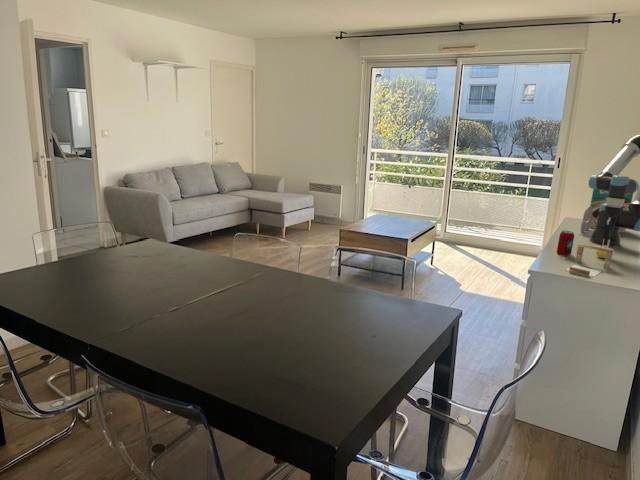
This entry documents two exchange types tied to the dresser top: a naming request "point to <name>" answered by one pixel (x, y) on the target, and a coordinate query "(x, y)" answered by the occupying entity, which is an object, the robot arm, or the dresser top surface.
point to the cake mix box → (599, 199)
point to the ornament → (586, 225)
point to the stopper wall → (579, 271)
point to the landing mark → (592, 271)
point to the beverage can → (565, 243)
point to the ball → (601, 254)
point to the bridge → (608, 250)
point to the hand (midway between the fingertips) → (604, 250)
